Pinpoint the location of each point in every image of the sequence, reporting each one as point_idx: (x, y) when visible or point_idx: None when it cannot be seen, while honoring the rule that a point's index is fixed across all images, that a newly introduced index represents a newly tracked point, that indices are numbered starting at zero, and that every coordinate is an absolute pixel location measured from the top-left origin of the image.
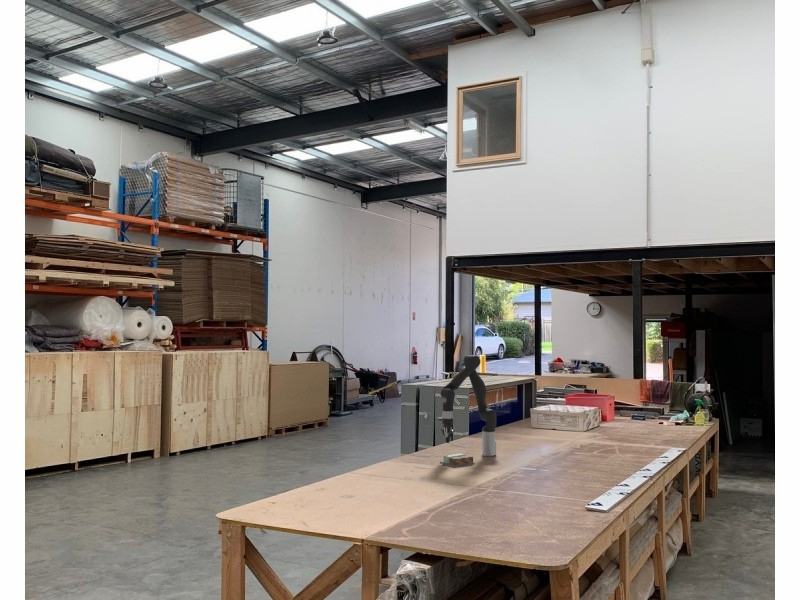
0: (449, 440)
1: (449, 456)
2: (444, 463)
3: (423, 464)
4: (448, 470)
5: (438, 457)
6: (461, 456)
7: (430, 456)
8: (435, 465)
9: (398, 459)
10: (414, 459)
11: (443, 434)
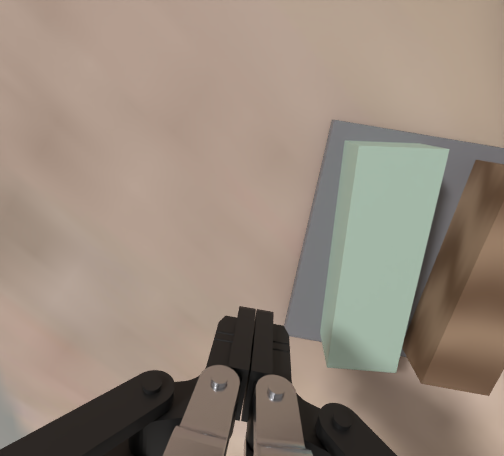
0: (287, 347)
1: (381, 346)
2: None
3: None
4: (483, 433)
5: (98, 177)
6: (478, 270)
7: (29, 198)
8: (315, 389)
9: (27, 412)
10: (74, 353)
11: (124, 452)
